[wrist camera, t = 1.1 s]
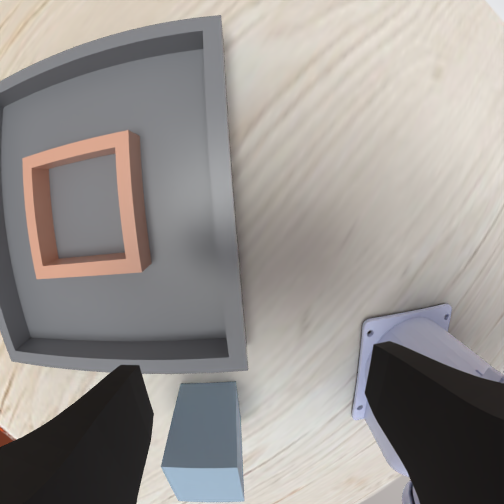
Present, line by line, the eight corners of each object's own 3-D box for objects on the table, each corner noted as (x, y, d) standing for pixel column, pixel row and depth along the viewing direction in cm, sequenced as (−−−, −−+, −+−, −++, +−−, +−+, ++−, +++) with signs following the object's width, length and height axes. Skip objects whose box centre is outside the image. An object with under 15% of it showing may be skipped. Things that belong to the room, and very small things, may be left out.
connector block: (240, 419, 21) (244, 501, 13) (190, 421, 21) (178, 500, 13) (235, 381, 20) (237, 467, 12) (180, 383, 20) (161, 466, 12)
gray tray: (246, 345, 19) (248, 370, 16) (30, 344, 19) (11, 361, 16) (223, 38, 15) (220, 15, 12) (1, 101, 15) (-22, 94, 12)
